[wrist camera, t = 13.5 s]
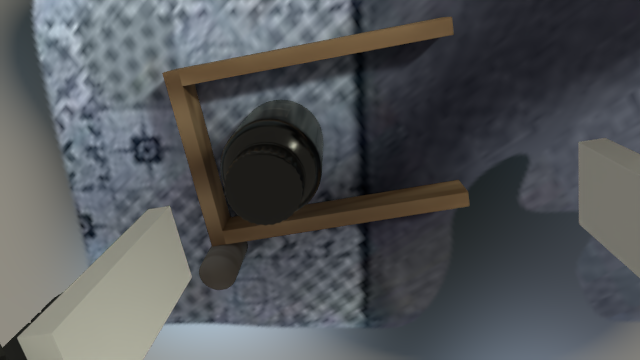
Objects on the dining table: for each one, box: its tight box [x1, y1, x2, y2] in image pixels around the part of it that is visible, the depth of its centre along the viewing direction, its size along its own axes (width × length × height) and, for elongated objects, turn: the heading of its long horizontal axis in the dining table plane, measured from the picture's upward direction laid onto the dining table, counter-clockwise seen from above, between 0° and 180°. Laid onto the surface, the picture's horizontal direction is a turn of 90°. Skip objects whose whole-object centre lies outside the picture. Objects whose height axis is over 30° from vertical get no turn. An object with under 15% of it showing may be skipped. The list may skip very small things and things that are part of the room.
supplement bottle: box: [220, 100, 323, 226], centre depth 33 cm, size 7×7×12 cm
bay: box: [163, 17, 469, 290], centre depth 37 cm, size 17×22×5 cm
